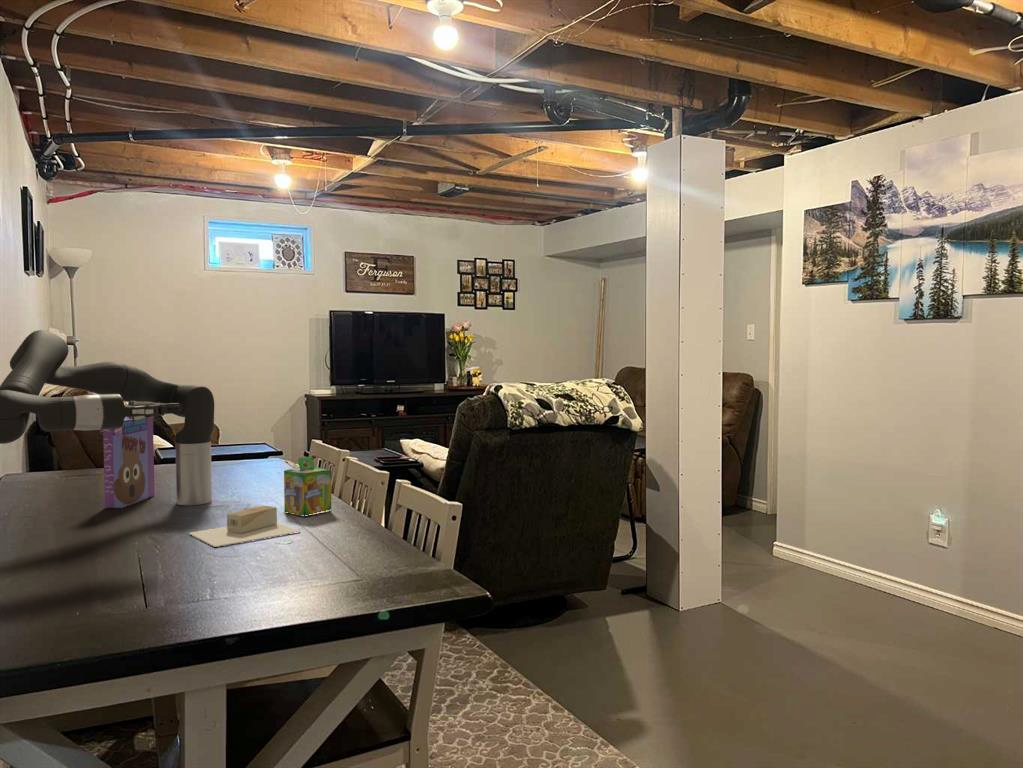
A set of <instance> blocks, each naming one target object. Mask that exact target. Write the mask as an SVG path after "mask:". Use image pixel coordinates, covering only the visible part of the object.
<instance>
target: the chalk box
mask: <svg viewBox="0 0 1023 768" xmlns="http://www.w3.org/2000/svg"><path fill="white" fill-rule="evenodd" d="M313 458H314V457H313V456H311V455H309V456H304V457H298V461H297V462H298V465H299V467H298V468H291V469H284V471H283V479H284V480H283V485H284V486H283V487H284V488H283V492H284V494H283V495H284V497H283V498H284V508H283V509H284V511H283V512H284V513H285V512H288V513H294V514H298V515H304V516H305V515H309V514H313V513H317V512H321V511H326V510H330V509H331V510H332V470H331V469H326V468H322V467H315V465H314V459H313ZM305 462H309V465H307V466H305V465H304V463H305ZM298 515H297V516H298ZM304 516H303V517H304Z"/></svg>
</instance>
